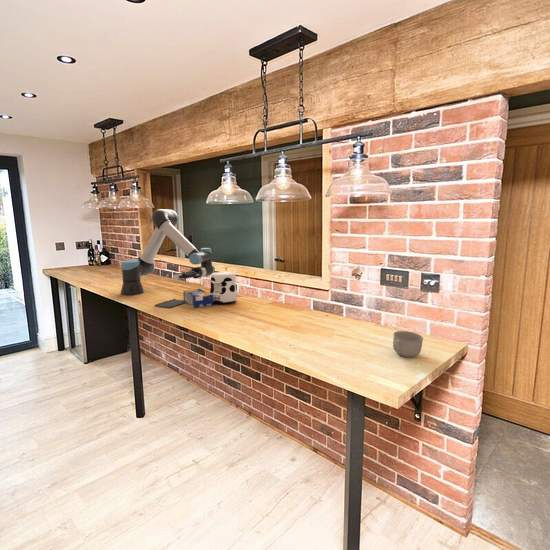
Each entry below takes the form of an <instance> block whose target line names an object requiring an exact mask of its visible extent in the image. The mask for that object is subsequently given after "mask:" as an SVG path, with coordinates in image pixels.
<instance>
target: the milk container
mask: <svg viewBox="0 0 550 550" xmlns="http://www.w3.org/2000/svg"><path fill="white" fill-rule="evenodd" d="M236 276H237V275H236V273H235V272H229V271H228V272H227V271H220V272H214V273H212V274H211V275H210V290H209V293H210V294H212V295H213V304H221V305H222V304H231V303H235V302H236V301H237V299H238V291H237V286H236V281H237V280H236V278H237V277H236Z"/></svg>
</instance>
